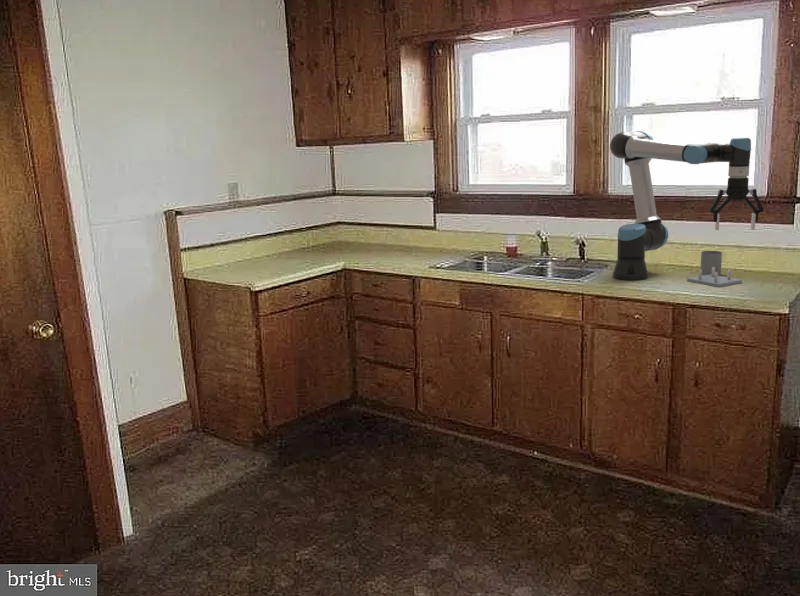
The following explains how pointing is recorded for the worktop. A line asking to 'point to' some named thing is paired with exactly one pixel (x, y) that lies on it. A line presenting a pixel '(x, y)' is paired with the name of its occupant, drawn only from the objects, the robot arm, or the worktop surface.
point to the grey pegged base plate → (714, 279)
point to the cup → (711, 262)
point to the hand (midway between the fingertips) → (734, 229)
